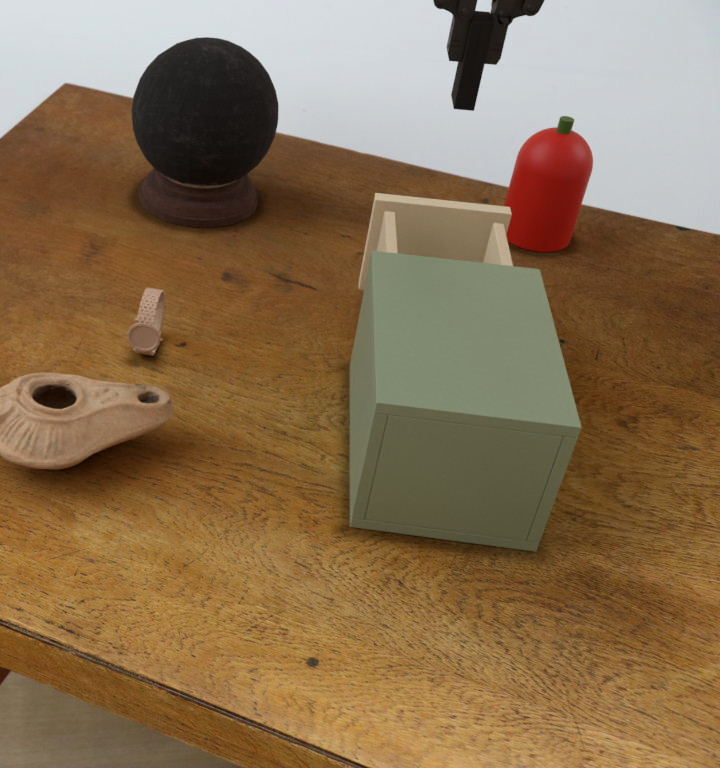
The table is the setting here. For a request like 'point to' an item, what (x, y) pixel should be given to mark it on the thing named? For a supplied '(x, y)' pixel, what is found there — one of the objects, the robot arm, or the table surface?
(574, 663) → the table surface
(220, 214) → the black ball on stand
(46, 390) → the pottery oil lamp
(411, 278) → the cabinet
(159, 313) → the wristwatch
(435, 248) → the drawer
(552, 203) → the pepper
